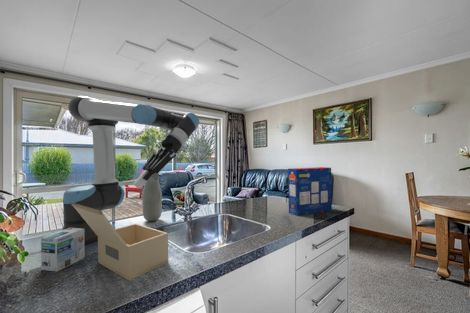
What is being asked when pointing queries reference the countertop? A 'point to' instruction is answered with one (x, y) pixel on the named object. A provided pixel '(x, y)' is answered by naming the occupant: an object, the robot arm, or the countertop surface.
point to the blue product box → (309, 190)
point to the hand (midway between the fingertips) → (136, 186)
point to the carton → (134, 251)
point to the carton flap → (99, 224)
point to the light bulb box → (62, 249)
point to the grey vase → (152, 198)
